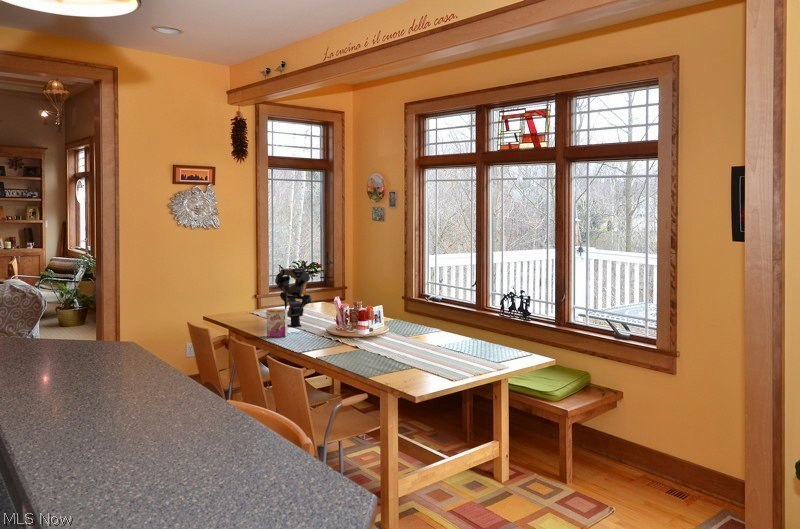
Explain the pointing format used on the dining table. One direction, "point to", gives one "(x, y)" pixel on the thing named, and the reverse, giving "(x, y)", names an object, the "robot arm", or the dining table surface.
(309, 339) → the dining table surface
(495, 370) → the dining table surface
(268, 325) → the candy bar box
